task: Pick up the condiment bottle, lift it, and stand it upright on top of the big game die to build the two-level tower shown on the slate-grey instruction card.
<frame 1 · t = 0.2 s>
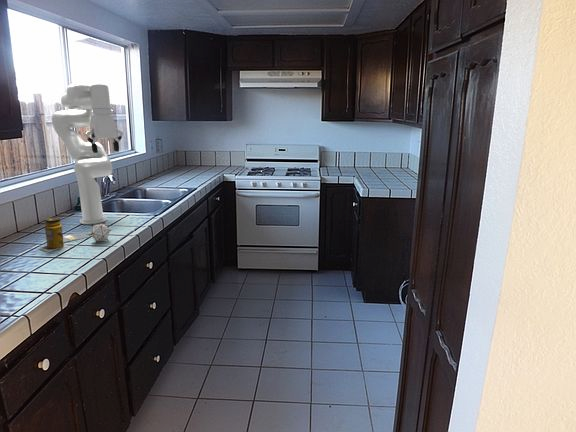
hand: (106, 151, 190), 37 cm above the table, tool pointing down, fingers open, 9 cm apart
instruction card: (70, 238, 186), on the table
game die: (101, 241, 182), on the table
condiment: (53, 248, 173), on the table, touching instruction card
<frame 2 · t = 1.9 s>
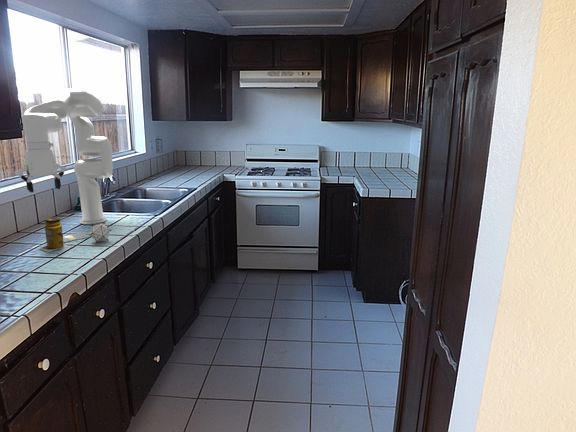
hand: (44, 190, 167), 24 cm above the table, tool pointing down, fingers open, 9 cm apart
nothing on the table moved.
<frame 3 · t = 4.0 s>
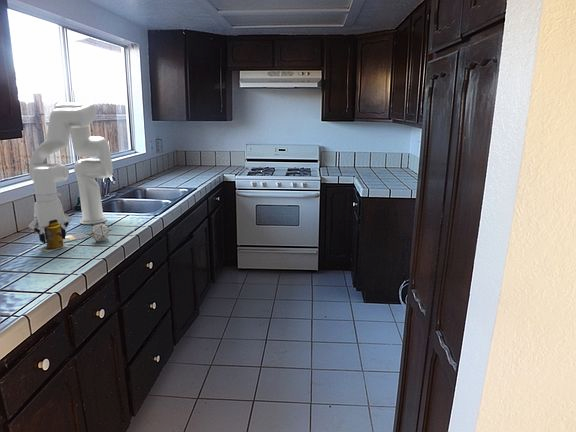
hand: (53, 240, 173), 3 cm above the table, tool pointing down, fingers open, 6 cm apart
condiment: (53, 248, 173), on the table, touching gripper, instruction card
everything else where it was.
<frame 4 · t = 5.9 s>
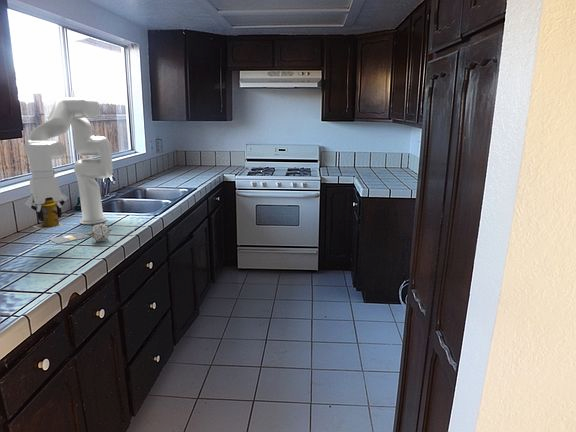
hand: (50, 218, 171), 12 cm above the table, tool pointing down, fingers closed on condiment, 6 cm apart
condiment: (48, 226, 171), point 9 cm above the table, touching gripper
everything else where it was.
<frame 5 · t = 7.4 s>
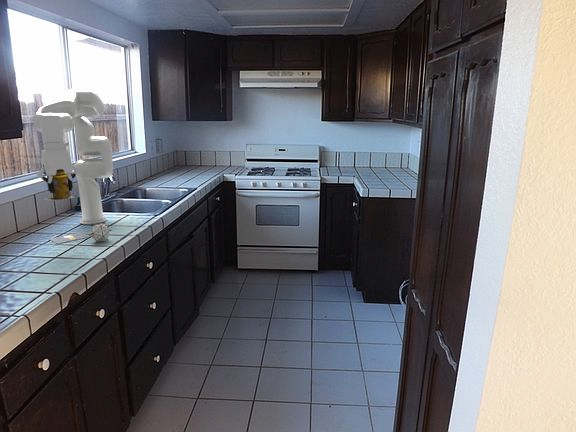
hand: (61, 191, 170), 23 cm above the table, tool pointing down, fingers closed on condiment, 6 cm apart
condiment: (59, 199, 170), point 20 cm above the table, touching gripper
everything else where it was.
when the fingers open (12 cm above the table, at t = 10.7 s): condiment drops 2 cm, resting on game die.
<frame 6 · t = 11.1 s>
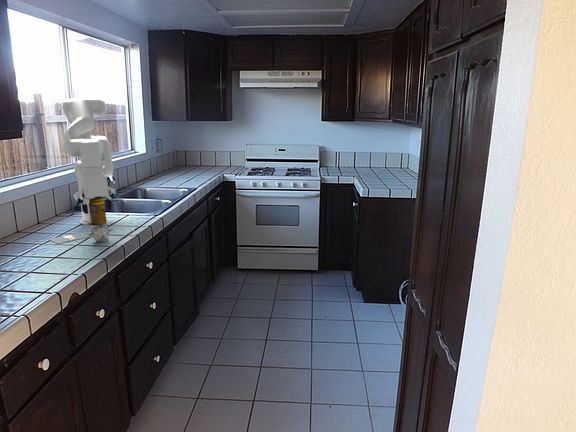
hand: (97, 211, 178), 13 cm above the table, tool pointing down, fingers open, 9 cm apart
game die: (101, 241, 182), on the table, touching condiment
condiment: (97, 224, 179), point 8 cm above the table, touching game die
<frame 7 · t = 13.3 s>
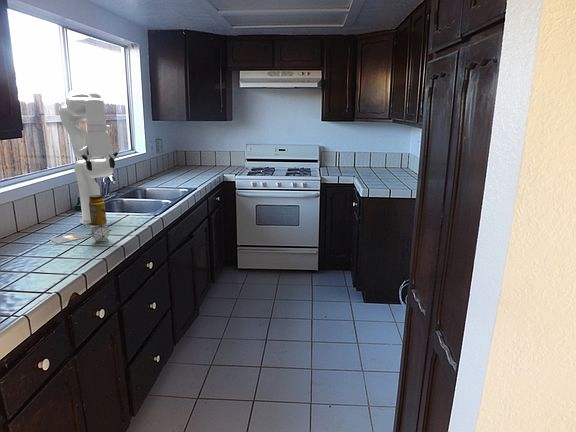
hand: (101, 169, 184), 30 cm above the table, tool pointing down, fingers open, 9 cm apart
nothing on the table moved.
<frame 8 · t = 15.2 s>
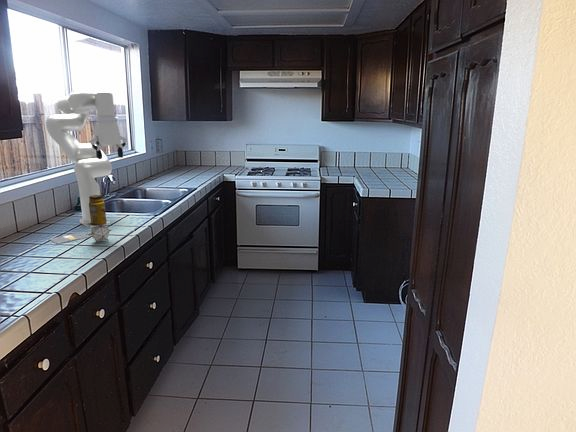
hand: (110, 158, 194), 33 cm above the table, tool pointing down, fingers open, 9 cm apart
nothing on the table moved.
at the end: condiment 0.8 cm off-centre on the game die, point 7.9 cm above the game die's base; condiment tilted 0°; the gripper is holding nothing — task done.
